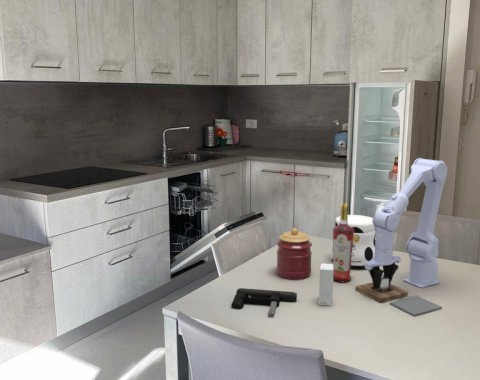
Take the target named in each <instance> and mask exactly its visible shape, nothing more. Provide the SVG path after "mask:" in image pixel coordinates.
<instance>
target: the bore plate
mask: <svg viewBox="0 0 480 380" xmlns="http://www.w3.org/2000/svg"><path fill="white" fill-rule="evenodd" d="M355 291H356V292H358V293H361V294H362V295H364V296H366V297H368V298H370V299H372V300H374V301H376V302H378V303H379V304H383V303H386V302H392V301H394V300H395V301H396V300H400V299H402V298H403V299H404V298H408V296H409V291H407V290H405V289H402V288H400V287H398V286H396V285H394V284H392V283H391V284H390V286H389V288H388V292H384V293H380V292H378V291H376V290H375V287H374V286H373V281H371V282H367V283H363V284H359V285H355Z"/></svg>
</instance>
